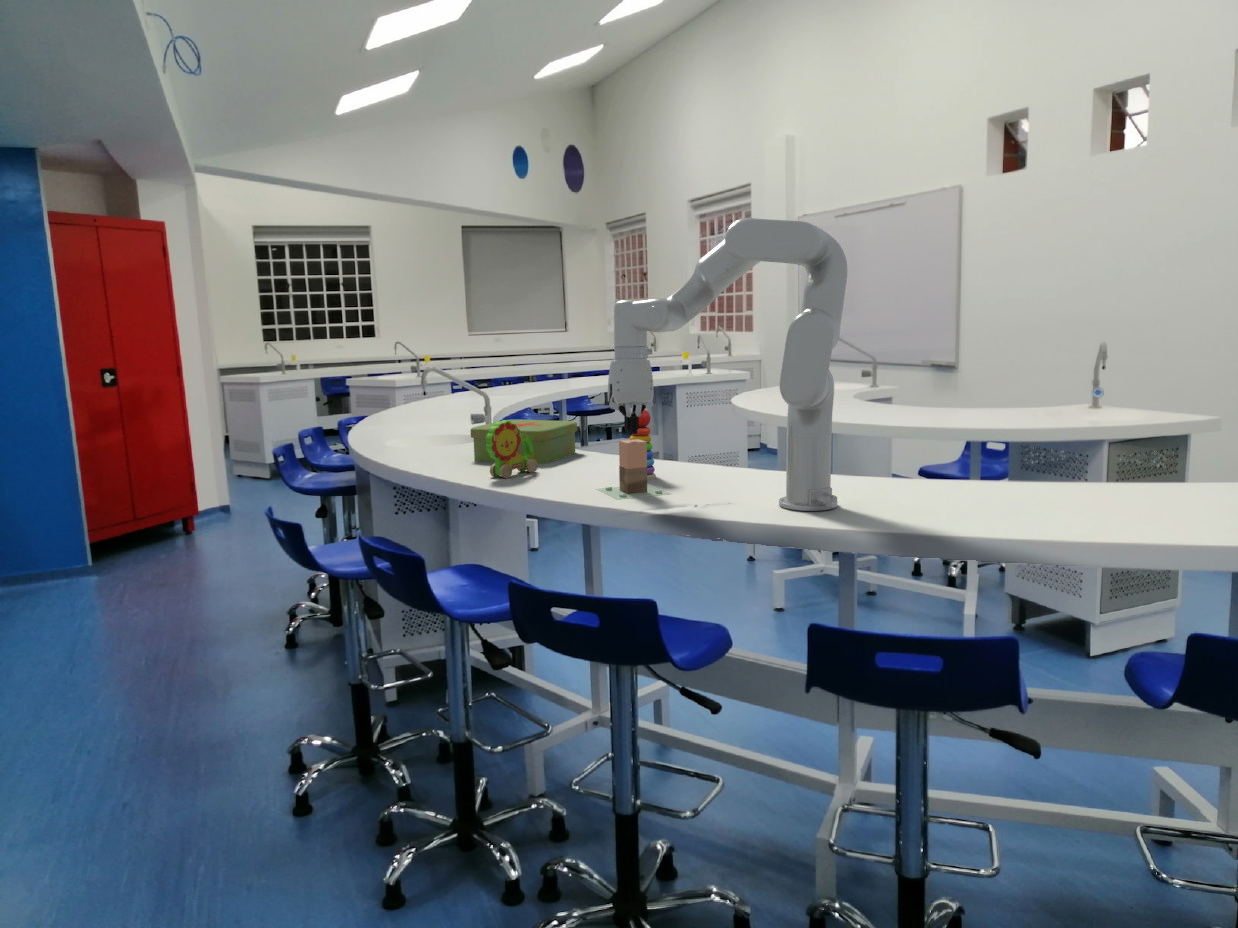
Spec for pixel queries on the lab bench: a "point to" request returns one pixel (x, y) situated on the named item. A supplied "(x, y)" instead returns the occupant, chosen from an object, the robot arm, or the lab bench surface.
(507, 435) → the toy lion
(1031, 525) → the lab bench surface
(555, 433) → the first aid kit
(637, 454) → the rust block
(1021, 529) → the lab bench surface
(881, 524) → the lab bench surface
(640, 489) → the walnut block
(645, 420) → the stacking toy
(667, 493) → the build plate
